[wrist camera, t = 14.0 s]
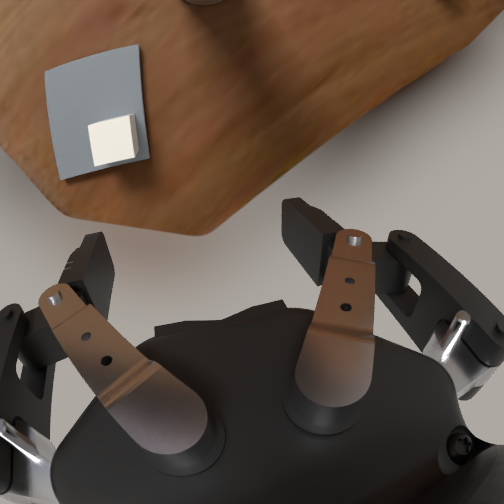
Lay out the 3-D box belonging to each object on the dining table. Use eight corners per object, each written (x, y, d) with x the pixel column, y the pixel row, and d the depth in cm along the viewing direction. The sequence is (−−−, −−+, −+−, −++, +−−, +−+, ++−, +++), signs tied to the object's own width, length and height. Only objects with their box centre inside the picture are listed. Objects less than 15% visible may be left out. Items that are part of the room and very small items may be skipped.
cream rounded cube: (134, 113, 34) (129, 115, 29) (139, 149, 37) (134, 157, 32) (98, 121, 33) (87, 125, 28) (103, 157, 36) (94, 166, 31)
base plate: (139, 46, 30) (138, 44, 29) (150, 156, 39) (149, 158, 38) (48, 72, 27) (44, 71, 25) (63, 177, 36) (60, 180, 35)
